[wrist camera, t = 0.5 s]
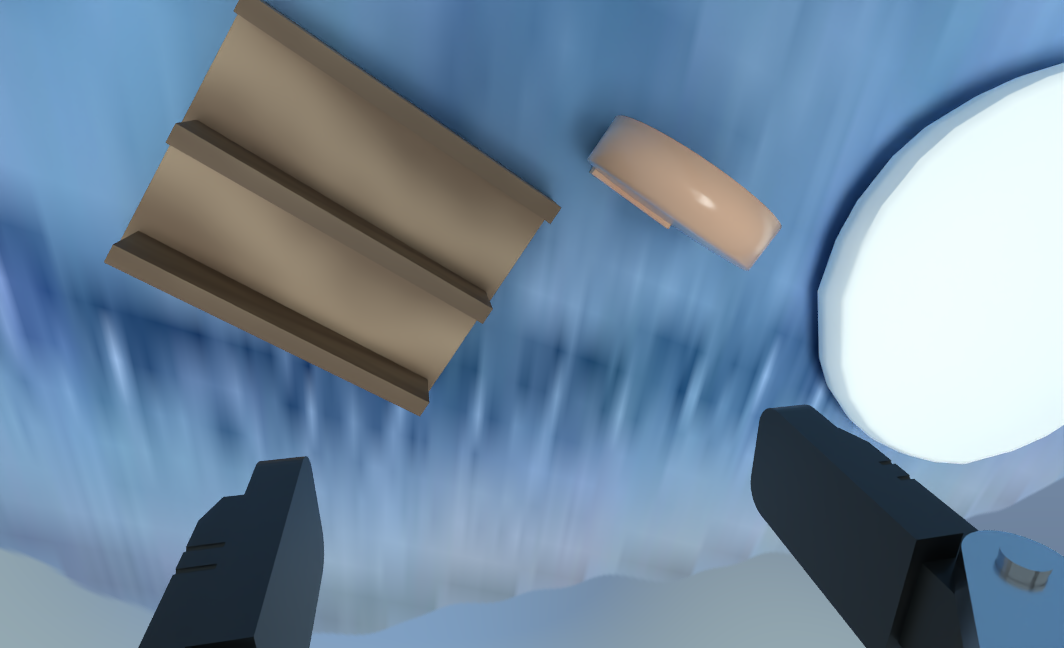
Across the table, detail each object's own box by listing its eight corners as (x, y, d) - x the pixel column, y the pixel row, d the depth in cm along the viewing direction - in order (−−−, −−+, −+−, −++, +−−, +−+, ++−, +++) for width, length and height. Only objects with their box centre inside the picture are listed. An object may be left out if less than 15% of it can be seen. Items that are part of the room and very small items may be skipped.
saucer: (592, 106, 35) (665, 115, 25) (717, 203, 38) (823, 244, 29) (562, 152, 35) (621, 178, 26) (687, 244, 39) (781, 297, 29)
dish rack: (254, -5, 30) (232, -18, 26) (551, 199, 36) (568, 213, 32) (129, 236, 33) (92, 256, 29) (425, 387, 39) (427, 420, 35)
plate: (963, 534, 47) (758, 326, 37) (907, 478, 53) (716, 285, 43) (1334, 273, 40) (1204, -67, 30) (1222, 242, 46) (1082, -52, 36)
